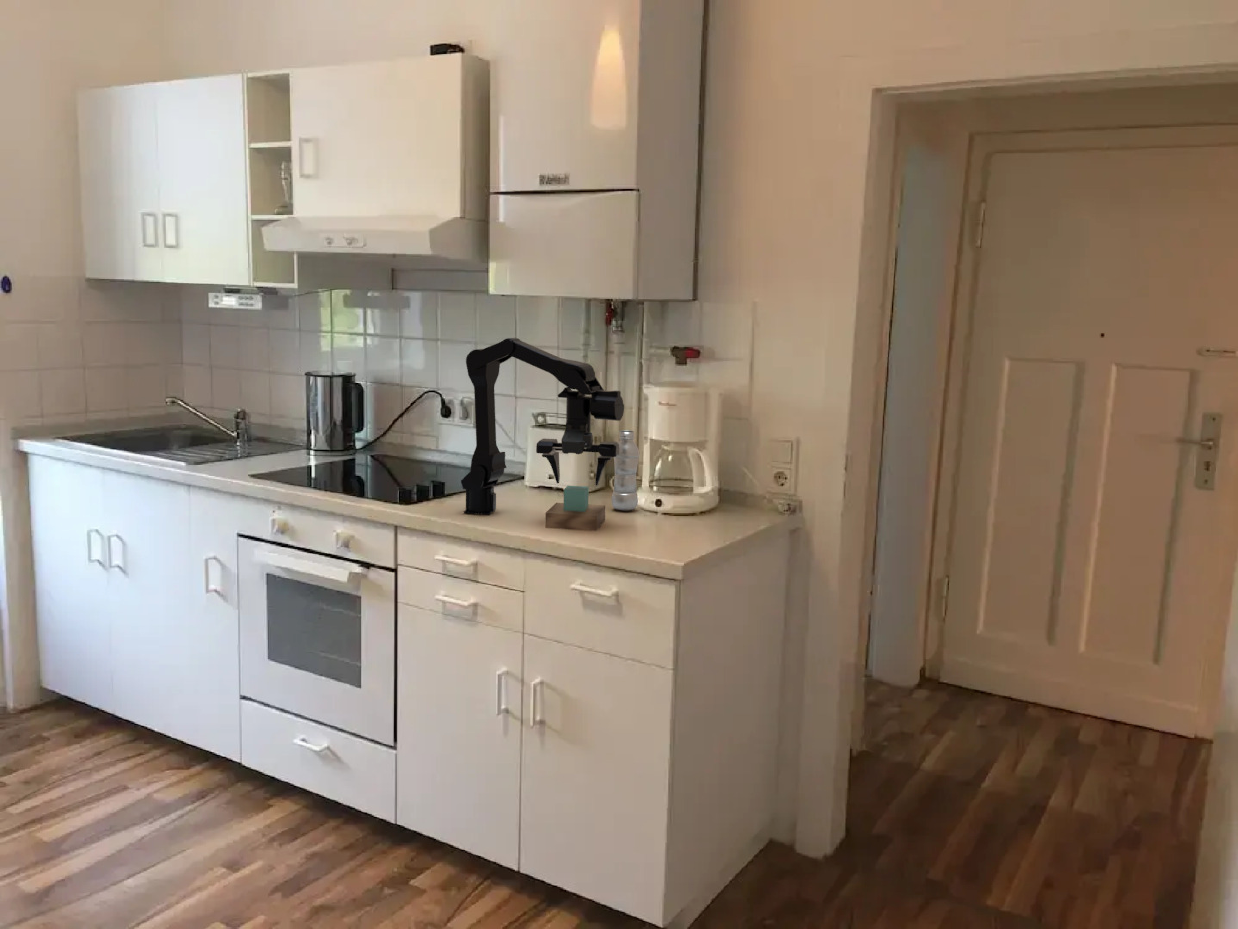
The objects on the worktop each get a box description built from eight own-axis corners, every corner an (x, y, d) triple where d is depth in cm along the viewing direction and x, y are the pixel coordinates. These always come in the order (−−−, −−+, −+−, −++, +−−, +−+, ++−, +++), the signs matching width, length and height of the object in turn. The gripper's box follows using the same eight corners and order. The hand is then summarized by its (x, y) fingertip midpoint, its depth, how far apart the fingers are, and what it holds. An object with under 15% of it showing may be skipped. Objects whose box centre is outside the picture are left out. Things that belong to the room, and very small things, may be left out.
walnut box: (545, 529, 241) (545, 512, 241) (555, 518, 253) (556, 502, 252) (596, 532, 240) (597, 515, 239) (604, 521, 251) (605, 505, 251)
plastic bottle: (622, 506, 267) (624, 428, 264) (643, 510, 263) (645, 431, 260) (605, 510, 262) (608, 431, 259) (626, 514, 258) (629, 434, 255)
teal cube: (563, 510, 244) (563, 489, 243) (567, 506, 248) (567, 485, 248) (584, 511, 243) (585, 490, 242) (588, 507, 248) (588, 486, 247)
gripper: (531, 420, 236) (530, 488, 238) (613, 423, 233) (611, 492, 235) (542, 414, 246) (541, 479, 249) (620, 418, 244) (618, 483, 246)
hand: (577, 484), depth 245 cm, fingers open, 9 cm apart
